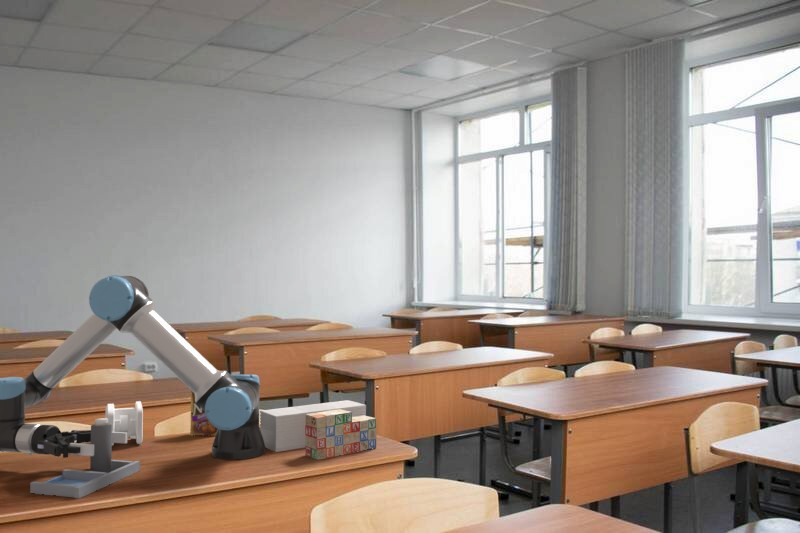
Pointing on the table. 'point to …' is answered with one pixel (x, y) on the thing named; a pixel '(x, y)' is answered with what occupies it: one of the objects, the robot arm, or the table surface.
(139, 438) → the cable organizer
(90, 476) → the grey frame
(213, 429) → the candy box
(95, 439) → the grey bottle
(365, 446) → the stack of blocks
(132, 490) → the table surface
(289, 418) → the long white block
